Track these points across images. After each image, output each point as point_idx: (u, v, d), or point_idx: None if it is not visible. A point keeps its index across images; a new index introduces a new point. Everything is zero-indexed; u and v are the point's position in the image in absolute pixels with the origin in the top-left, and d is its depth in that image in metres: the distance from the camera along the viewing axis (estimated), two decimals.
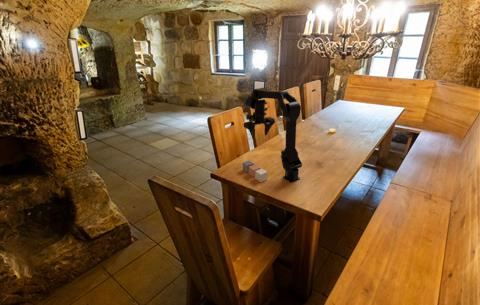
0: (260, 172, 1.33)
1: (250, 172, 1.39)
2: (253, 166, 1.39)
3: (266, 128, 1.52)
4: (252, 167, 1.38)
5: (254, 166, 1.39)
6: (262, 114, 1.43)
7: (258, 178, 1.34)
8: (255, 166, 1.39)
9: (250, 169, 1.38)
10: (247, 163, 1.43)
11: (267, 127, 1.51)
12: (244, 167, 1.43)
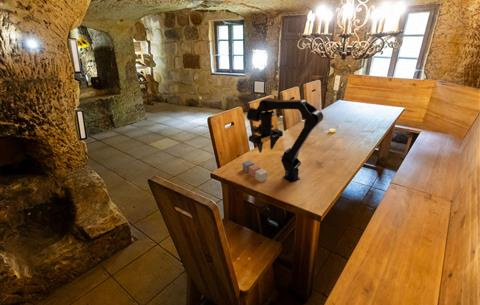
0: (260, 172, 1.33)
1: (250, 172, 1.39)
2: (253, 166, 1.39)
3: (271, 142, 1.39)
4: (252, 167, 1.38)
5: (254, 166, 1.39)
6: (269, 127, 1.31)
7: (258, 178, 1.34)
8: (255, 166, 1.39)
9: (250, 169, 1.38)
10: (247, 163, 1.43)
11: (273, 140, 1.38)
12: (244, 167, 1.43)
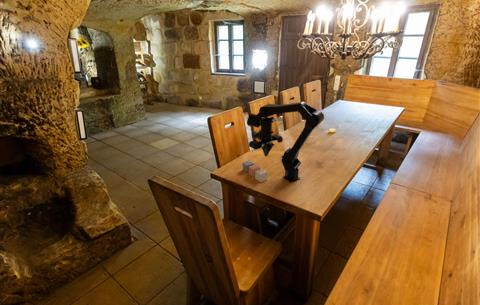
0: (260, 172, 1.33)
1: (250, 172, 1.39)
2: (253, 166, 1.39)
3: None
4: (252, 167, 1.38)
5: (254, 166, 1.39)
6: (269, 133, 1.32)
7: (258, 178, 1.34)
8: (255, 166, 1.39)
9: (250, 169, 1.38)
10: (247, 163, 1.43)
11: (268, 147, 1.37)
12: (244, 167, 1.43)
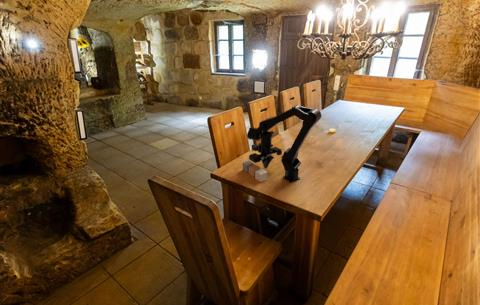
0: (260, 172, 1.33)
1: (250, 172, 1.39)
2: (253, 166, 1.39)
3: None
4: (252, 167, 1.38)
5: (254, 166, 1.39)
6: (269, 146, 1.35)
7: (258, 178, 1.34)
8: (255, 166, 1.39)
9: (250, 169, 1.38)
10: (247, 163, 1.43)
11: None
12: (244, 167, 1.43)
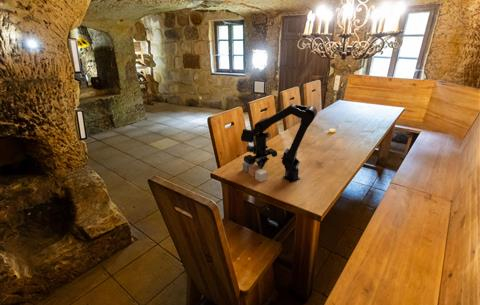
0: (260, 172, 1.33)
1: (250, 172, 1.39)
2: (253, 166, 1.39)
3: None
4: (252, 167, 1.38)
5: (254, 166, 1.39)
6: (263, 148, 1.34)
7: (258, 178, 1.34)
8: (255, 166, 1.39)
9: (250, 169, 1.38)
10: (247, 163, 1.43)
11: None
12: (244, 167, 1.43)
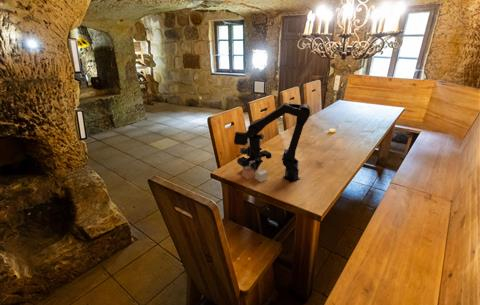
0: (260, 172, 1.33)
1: (244, 174, 1.37)
2: (247, 168, 1.37)
3: None
4: (246, 169, 1.36)
5: (248, 168, 1.37)
6: (257, 150, 1.32)
7: (258, 178, 1.34)
8: (249, 168, 1.37)
9: (244, 171, 1.36)
10: None
11: None
12: (244, 167, 1.43)
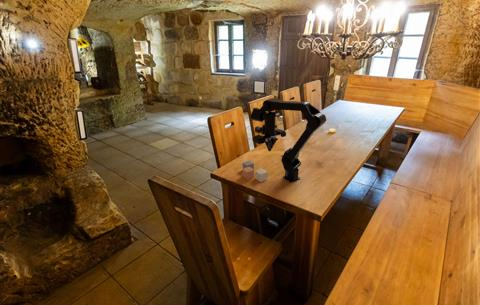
0: (260, 172, 1.33)
1: (244, 174, 1.37)
2: (247, 168, 1.37)
3: None
4: (246, 169, 1.36)
5: (248, 168, 1.37)
6: (273, 127, 1.31)
7: (258, 178, 1.34)
8: (249, 168, 1.37)
9: (244, 171, 1.36)
10: (247, 163, 1.43)
11: None
12: (244, 167, 1.43)
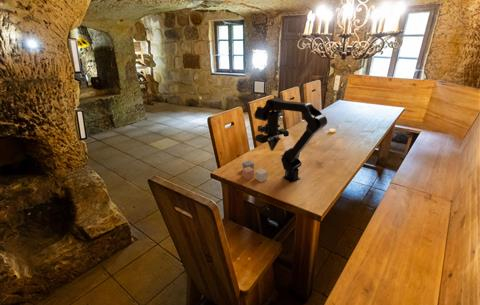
0: (260, 172, 1.33)
1: (244, 174, 1.37)
2: (247, 168, 1.37)
3: None
4: (246, 169, 1.36)
5: (248, 168, 1.37)
6: (276, 126, 1.31)
7: (258, 178, 1.34)
8: (249, 168, 1.37)
9: (244, 171, 1.36)
10: (247, 163, 1.43)
11: (274, 142, 1.37)
12: (244, 167, 1.43)
